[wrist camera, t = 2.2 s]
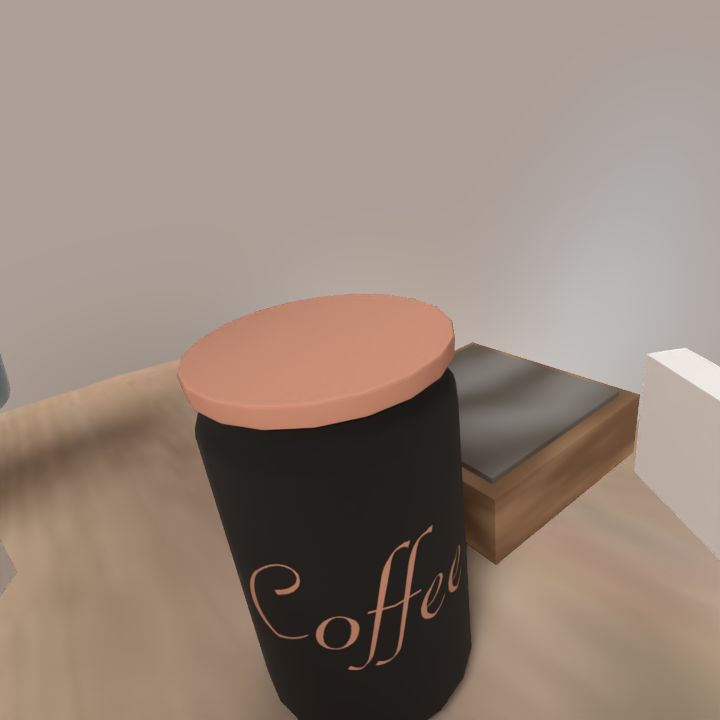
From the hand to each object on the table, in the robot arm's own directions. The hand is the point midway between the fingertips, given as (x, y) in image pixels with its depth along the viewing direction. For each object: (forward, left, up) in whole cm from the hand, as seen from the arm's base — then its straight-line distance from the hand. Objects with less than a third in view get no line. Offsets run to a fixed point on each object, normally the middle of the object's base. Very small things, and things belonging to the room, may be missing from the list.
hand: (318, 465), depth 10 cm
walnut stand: (-16, +22, -19) cm, 33 cm away
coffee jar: (-9, +5, -19) cm, 22 cm away
